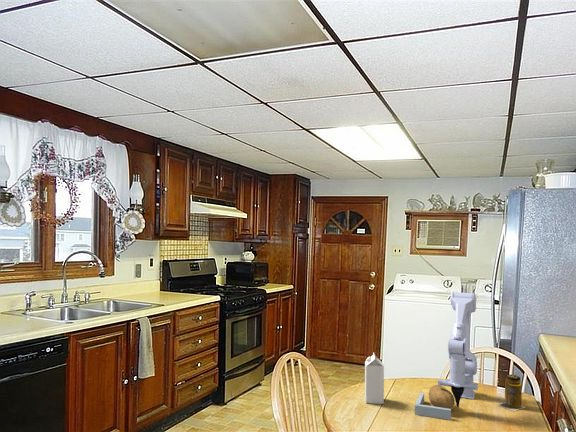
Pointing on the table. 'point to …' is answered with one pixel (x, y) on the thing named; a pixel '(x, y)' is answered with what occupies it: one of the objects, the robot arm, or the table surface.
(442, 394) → the potato
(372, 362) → the milk carton
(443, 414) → the corner walls
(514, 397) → the condiment
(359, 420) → the table surface
